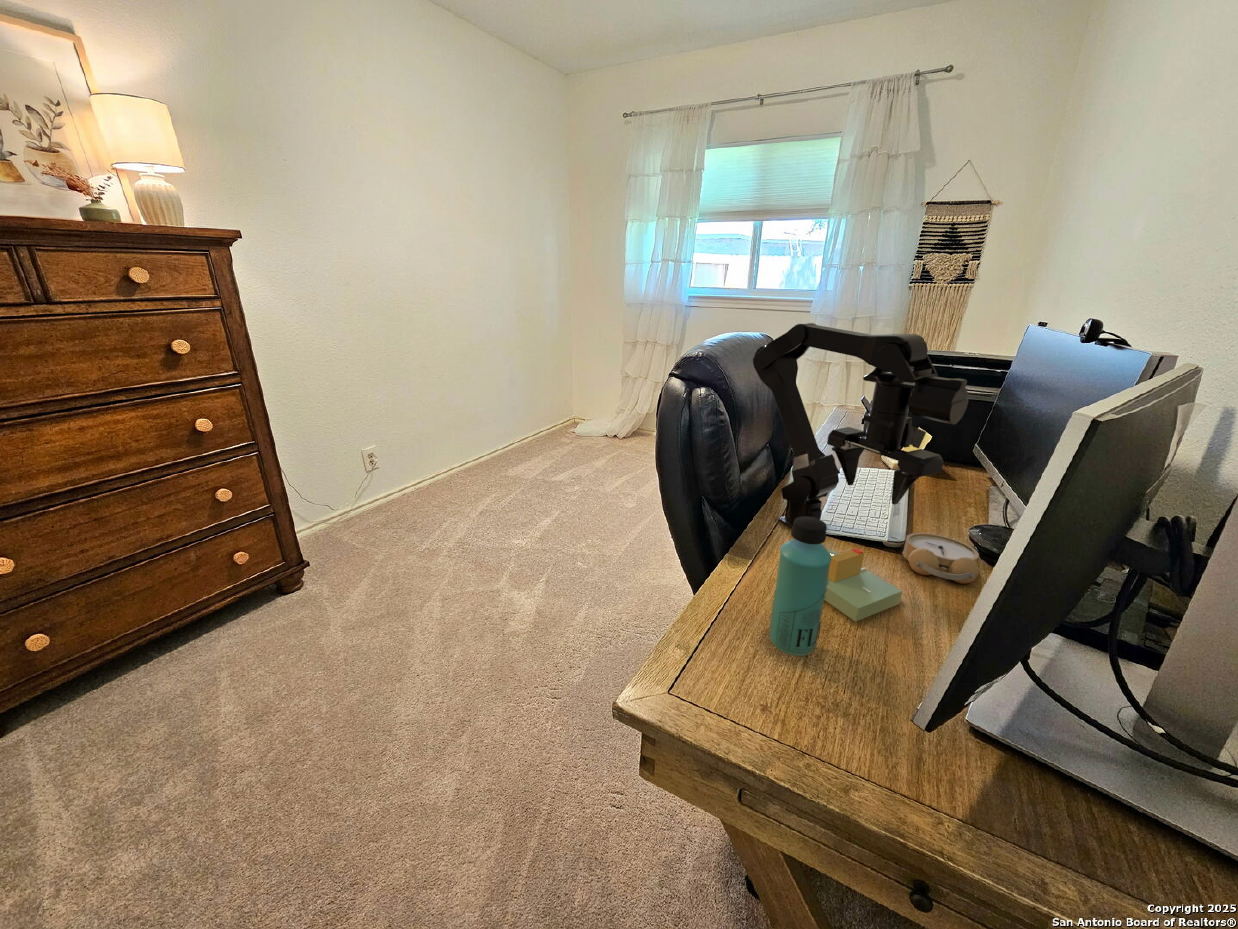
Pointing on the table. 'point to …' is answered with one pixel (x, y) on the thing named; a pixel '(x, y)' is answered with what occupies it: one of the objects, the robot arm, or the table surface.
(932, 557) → the alarm clock
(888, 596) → the plate
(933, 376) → the robot arm
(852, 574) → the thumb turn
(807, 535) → the beverage bottle
